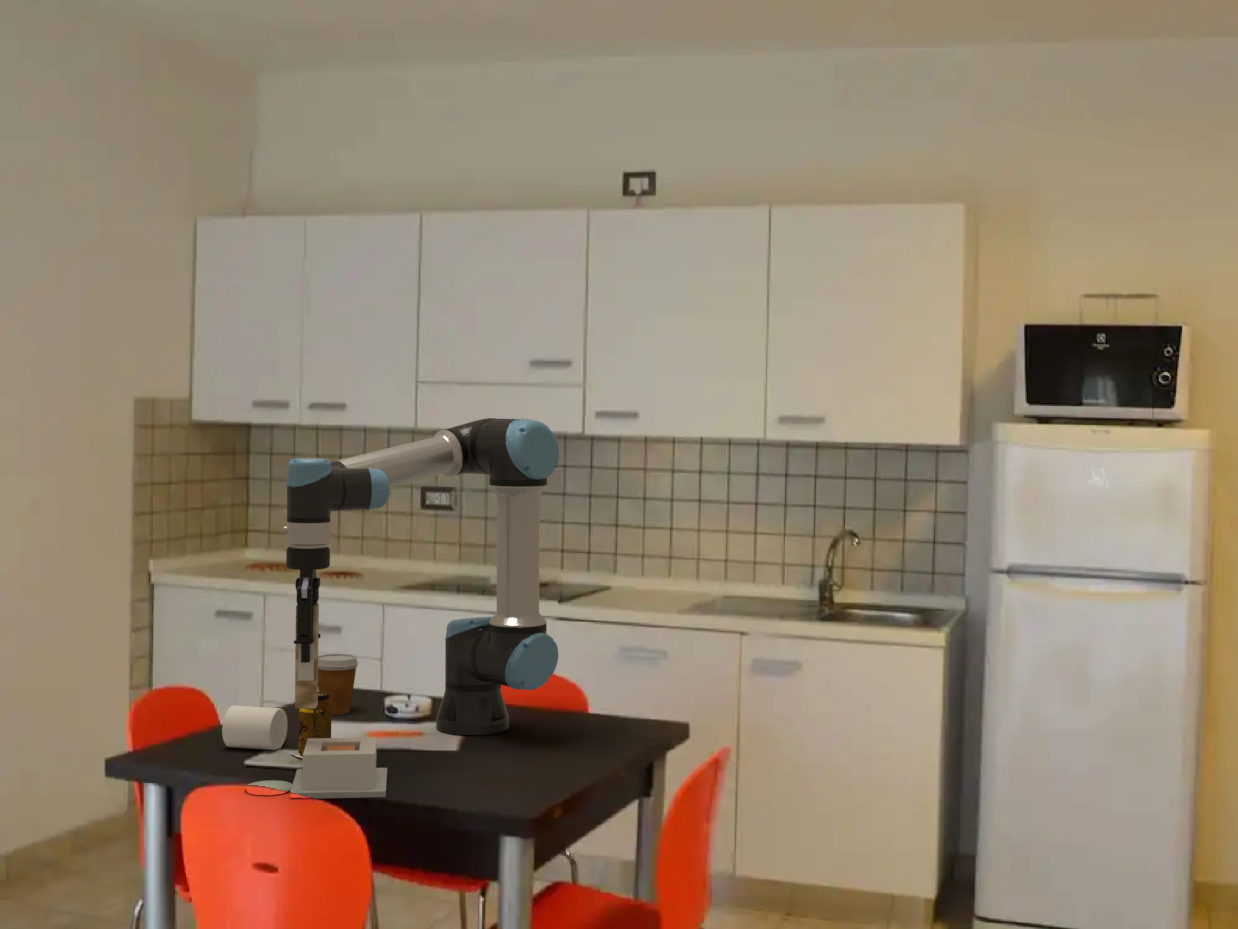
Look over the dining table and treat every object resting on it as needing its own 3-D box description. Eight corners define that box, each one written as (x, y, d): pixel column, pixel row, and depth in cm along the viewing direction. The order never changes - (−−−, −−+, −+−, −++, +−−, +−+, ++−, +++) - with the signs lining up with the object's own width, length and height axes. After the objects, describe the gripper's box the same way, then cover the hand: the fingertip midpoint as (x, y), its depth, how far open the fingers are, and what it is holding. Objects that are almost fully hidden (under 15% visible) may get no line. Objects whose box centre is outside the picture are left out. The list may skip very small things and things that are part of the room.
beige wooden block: (317, 704, 251) (318, 603, 250) (315, 708, 248) (316, 606, 247) (297, 704, 251) (298, 603, 250) (294, 708, 247) (295, 606, 246)
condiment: (289, 755, 268) (290, 693, 267) (328, 749, 274) (329, 687, 273) (309, 763, 262) (310, 699, 262) (348, 756, 268) (349, 693, 268)
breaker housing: (387, 773, 256) (387, 735, 256) (385, 797, 240) (386, 756, 240) (297, 774, 254) (297, 736, 253) (289, 799, 238) (290, 757, 238)
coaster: (294, 783, 248) (294, 780, 248) (290, 795, 240) (290, 792, 240) (247, 784, 247) (247, 780, 247) (242, 796, 239) (242, 793, 239)
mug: (269, 754, 268) (270, 713, 268) (221, 751, 270) (221, 710, 270) (296, 740, 280) (296, 700, 280) (249, 737, 282) (250, 697, 282)
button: (354, 765, 250) (355, 745, 249) (353, 772, 245) (354, 752, 245) (327, 765, 249) (327, 745, 249) (325, 772, 244) (325, 752, 244)
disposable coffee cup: (364, 709, 310) (365, 655, 310) (346, 718, 301) (347, 662, 300) (324, 706, 312) (325, 652, 312) (305, 715, 303) (306, 659, 303)
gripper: (291, 541, 256) (290, 669, 257) (280, 550, 239) (279, 687, 240) (333, 541, 257) (332, 669, 258) (325, 550, 240) (324, 687, 241)
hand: (307, 677), depth 249 cm, fingers closed on beige wooden block, 4 cm apart
